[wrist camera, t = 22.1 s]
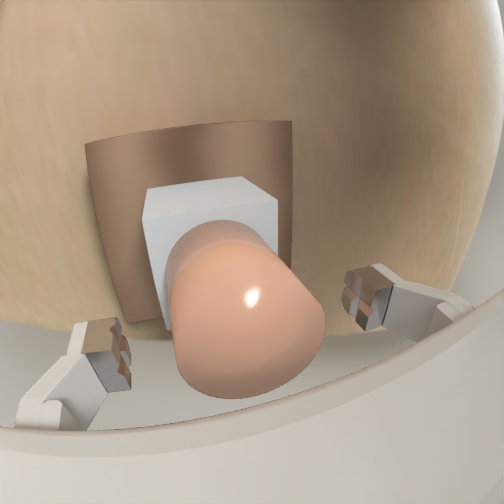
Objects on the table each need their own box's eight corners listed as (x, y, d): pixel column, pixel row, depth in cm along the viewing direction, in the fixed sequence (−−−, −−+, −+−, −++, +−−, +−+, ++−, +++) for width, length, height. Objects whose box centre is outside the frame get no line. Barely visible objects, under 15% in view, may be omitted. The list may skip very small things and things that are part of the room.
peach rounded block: (268, 212, 12) (333, 268, 8) (270, 303, 14) (317, 376, 10) (156, 229, 11) (159, 303, 6) (176, 322, 13) (192, 410, 9)
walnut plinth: (273, 120, 19) (291, 121, 16) (275, 272, 24) (289, 291, 21) (95, 141, 15) (84, 144, 13) (128, 299, 21) (126, 323, 18)
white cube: (241, 176, 17) (277, 200, 12) (245, 259, 19) (277, 308, 14) (147, 188, 15) (141, 219, 10) (162, 274, 18) (167, 330, 13)
